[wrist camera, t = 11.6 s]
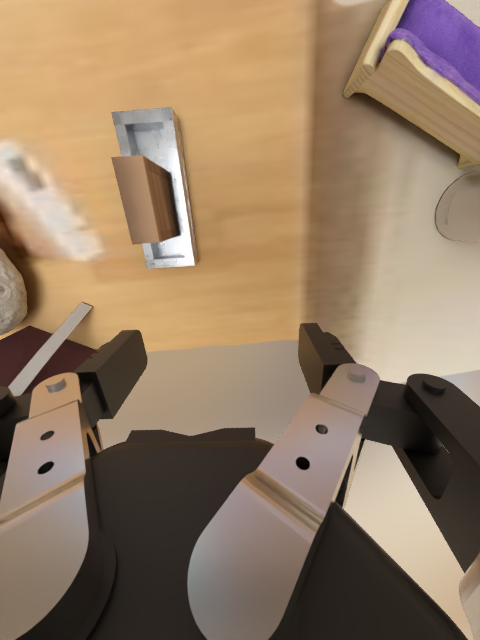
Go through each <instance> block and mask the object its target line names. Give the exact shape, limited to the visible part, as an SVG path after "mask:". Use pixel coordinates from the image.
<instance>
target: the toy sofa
mask: <svg viewBox="0 0 480 640" xmlns="http://www.w3.org/2000/svg"><path fill="white" fill-rule="evenodd" d="M353 93H366V94H368V95H369V96H371V97H373V98H374V99H376V100H378V101H379V102H381V103H382V104H384V105H386V106H387V107H389V108H390V109H392V110H393V111H395V112H397V113H398V114H400V115H401V116H403V117H404V118H406V119H407V120H408V121H410V122H412V123H413V124H415V125H417V126H418V127H419V128H421V129H422V130H424V131H426V132H427V133H429V134H430V135H432V136H433V137H435V138H436V139H438V140H439V141H441V142H442V143H444V144H445V145H447V146H448V147H450V148H451V149H453V150H454V151H456V152H457V153H459V154H460V159H459V162H458V164H457V165H456V167H457V168H459V169H464V168H469V167H475V166H480V27H478V26H477V25H475V24H474V23H472V21H471V20H469V19H467V18H466V17H465V16H464V15H463V14H462V13H461V12H459V11H458V10H457V9H455V8H454V7H453V6H451V5H450V4H449V3H448V2H446V1H445V0H388V1H387V2H386V4H385V5H384V7H383V8H382V10H381V12H380V14H379V16H378V18H377V20H376V23H375V25H374V27H373V29H372V31H371V33H370V35H369V37H368V40H367V42H366V44H365V46H364V48H363V50H362V52H361V55H360V57H359V59H358V61H357V63H356V66H355V68H354V70H353V72H352V74H351V76H350V78H349V81H348V83H347V85H346V87H345V89H344V92H343V96H344V97H346V98H349V97H350V96H351V95H352V94H353Z"/></svg>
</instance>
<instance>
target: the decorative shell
mask: <svg viewBox="0 0 480 640" xmlns="http://www.w3.org/2000/svg"><path fill="white" fill-rule="evenodd" d="M26 315H27V292H26V290H25V285H24V281H23V278H22V276H21V274H20V273H19V272H18V270H17V269H16V267H15V266H14V265H13V264H12V263H11V261H10V260H9V259H8V257H7V256H6V254H5V252H4V251H3V250H2V249H1V248H0V335H3V334H5V333H7V332H9V331H11V330H12V329H14V328H15V327H16V326H17V325H18V324H19V323H20V322H22V320H23V319H24V318H25V316H26Z"/></svg>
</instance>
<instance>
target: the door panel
mask: <svg viewBox="0 0 480 640" xmlns="http://www.w3.org/2000/svg"><path fill="white" fill-rule="evenodd" d="M111 158H112V162H113V166H114V170H115V174H116V178H117V182H118V186H119V190H120V195H121V199H122V203H123V207H124V211H125V215H126V219H127V223H128V227H129V231H130V236H131V240H132V244H144V243H158V242H162V241H165V240H168V239H171V238H174V237H177V236H180V230H179V224H178V218H177V212H176V206H175V200H174V193H173V187H172V181H171V175H170V172H168V171H167V170H165V169H164V168H162V167H161V166H159V165H157V164H156V163H154V162H153V161H151V160H150V159H148V158H146V157H145V156H143V155H135V156H123V157H111Z"/></svg>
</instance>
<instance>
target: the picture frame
mask: <svg viewBox="0 0 480 640" xmlns="http://www.w3.org/2000/svg"><path fill="white" fill-rule="evenodd" d="M91 308H92V306H89V305H87V304H84V303H82V302H81V303H80V305H79V306H78V307H77V308H76V309H75V310H74V311H73V312H72V314H71V315H70V316H69V317H68V318H67V319H66V320H65V321H64V323H63V324H62V325H61V326H60V327H59V328H58V329H57V330H56V332H55V333H54V334H51V333H48V332H45V331H42V330H40V329H37V328H34V327H31V326H28V327H26V328H24V329H22V330H20V331H18V332H16V333H14V334H12V335H10V336H8V337H6V338H4V339H2V340H0V386H6V387H8V388H9V389H10V391H11V392H12V394H13V396H14V397H15V396H20V395H24V394H29V393H32V392H33V390H34V388H35V387H36V386H37V385H38V384H40V383H41V382H43V381H44V380H46V379H48V378H50V377H53V376H55V375H59V374H63V373H72V372H74V371H75V370H76V369H77V368H78V367H79V366H80V365H81V364H82V363H83V362H85V361H86V360H87V359H88V358H90V356H91V355H92V354H93V353H95V352H96V351H97V350H94V349H92V348H89V347H86V346H83V345H81V344H78V343H75V342H72V341H70V340H67V339H66V338H67V337H68V336H69V334H70V333H71V332H72V331H73V330H74V328H75V327H76V326H77V325H78V324H79V322H80V321H81V320H82V319H83V318H84V316H85V315H86V314H87V313H88V312H89V310H90V309H91ZM0 500H1V496H0Z"/></svg>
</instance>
